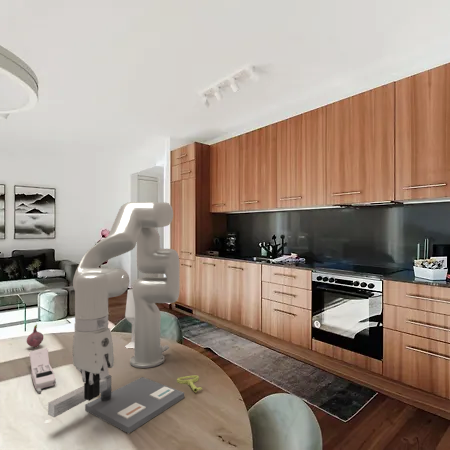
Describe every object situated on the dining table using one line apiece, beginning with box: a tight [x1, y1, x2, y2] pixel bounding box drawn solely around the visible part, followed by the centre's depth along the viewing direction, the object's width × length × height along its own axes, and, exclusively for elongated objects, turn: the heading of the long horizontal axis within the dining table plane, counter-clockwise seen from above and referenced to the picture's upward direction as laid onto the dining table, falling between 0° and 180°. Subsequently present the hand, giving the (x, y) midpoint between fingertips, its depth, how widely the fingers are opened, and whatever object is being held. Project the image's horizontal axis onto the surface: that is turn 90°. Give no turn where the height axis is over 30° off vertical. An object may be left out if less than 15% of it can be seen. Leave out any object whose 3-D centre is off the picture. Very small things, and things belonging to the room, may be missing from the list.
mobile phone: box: [28, 347, 56, 394], centre depth 104 cm, size 6×6×25 cm
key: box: [176, 374, 203, 393], centre depth 99 cm, size 7×12×2 cm, turn 39°
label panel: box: [84, 376, 185, 434], centre depth 88 cm, size 20×18×2 cm
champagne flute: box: [124, 288, 135, 349], centre depth 134 cm, size 7×7×24 cm
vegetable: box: [26, 324, 44, 349], centre depth 131 cm, size 6×6×10 cm
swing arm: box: [47, 374, 112, 418], centre depth 81 cm, size 3×17×6 cm, turn 151°
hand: (92, 397), depth 77 cm, fingers closed
